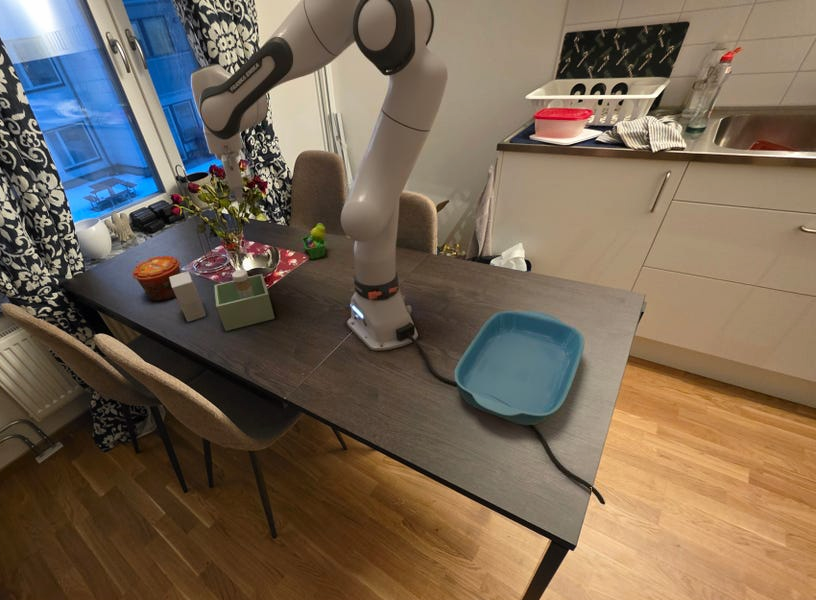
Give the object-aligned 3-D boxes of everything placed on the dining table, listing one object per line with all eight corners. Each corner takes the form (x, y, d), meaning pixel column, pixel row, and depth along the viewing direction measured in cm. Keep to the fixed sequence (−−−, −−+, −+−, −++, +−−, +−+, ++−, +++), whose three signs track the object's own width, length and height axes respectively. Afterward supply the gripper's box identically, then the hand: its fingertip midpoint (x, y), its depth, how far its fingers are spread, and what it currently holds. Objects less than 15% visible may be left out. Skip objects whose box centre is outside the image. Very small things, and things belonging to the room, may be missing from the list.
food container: (135, 303, 138) (121, 276, 131) (160, 280, 150) (148, 254, 142) (174, 304, 134) (161, 277, 127) (196, 281, 146) (186, 254, 139)
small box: (183, 310, 131) (168, 276, 122) (202, 304, 132) (188, 270, 124) (187, 322, 125) (171, 287, 116) (206, 316, 126) (192, 281, 118)
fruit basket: (303, 249, 156) (298, 222, 149) (324, 245, 157) (321, 217, 150) (308, 261, 148) (303, 233, 140) (331, 256, 149) (327, 228, 141)
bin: (274, 318, 121) (268, 293, 115) (225, 331, 119) (216, 306, 113) (268, 297, 131) (262, 273, 125) (222, 308, 129) (214, 285, 123)
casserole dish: (545, 454, 75) (554, 431, 71) (437, 410, 86) (439, 388, 82) (584, 347, 96) (594, 323, 92) (494, 323, 107) (498, 301, 103)
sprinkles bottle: (253, 304, 127) (242, 267, 118) (260, 309, 124) (249, 272, 115) (241, 310, 125) (229, 273, 116) (247, 316, 122) (235, 278, 113)
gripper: (240, 148, 94) (254, 206, 103) (233, 133, 109) (246, 185, 118) (214, 153, 93) (230, 211, 102) (211, 137, 108) (225, 189, 117)
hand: (239, 196), depth 110 cm, fingers open, 8 cm apart
